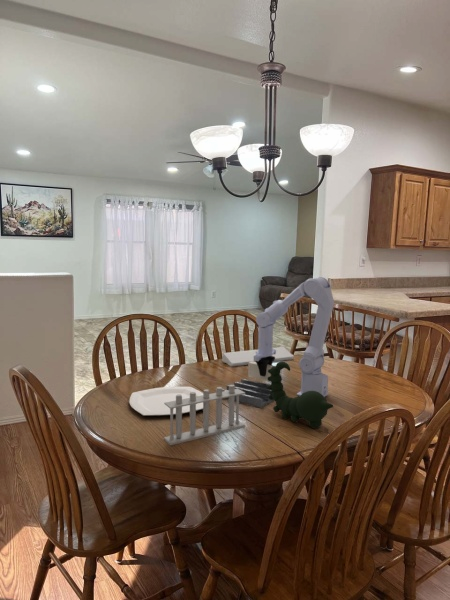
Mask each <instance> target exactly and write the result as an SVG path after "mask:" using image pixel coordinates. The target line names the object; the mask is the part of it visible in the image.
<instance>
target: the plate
mask: <svg viewBox="0 0 450 600" xmlns="http://www.w3.org/2000/svg"><path fill="white" fill-rule="evenodd" d="M190 392H196V397H197V396H202V395H203V391H200V390H198V389H196V388H194V387H192V386H164V387H163V386H161V387H155V388H149V389H142V390H139V391H134V392H132V393H131V395H130V397H129V400H128V401H129V405H130V407H131V409H133V410H134V411H136V412H137V413H139V414H140V415H141V416H144V417H146V416H147V417H154V416H155V417H156V416H170V408H169V407H167V406H166V405H165V404H164V403H165V402H171V401H176V395H178V394H180V395H182V399H186V398H190ZM200 410H203V402H202V403H197V404H196V412H197V411H200ZM183 414H190V405H188V406H183V407H182V415H183ZM173 416H176V408H174V409H173Z"/></svg>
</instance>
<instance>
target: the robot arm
mask: <svg viewBox="0 0 450 600" xmlns="http://www.w3.org/2000/svg"><path fill="white" fill-rule="evenodd" d="M304 296H308V297H310V298H311V299H312V300H313V301H314V302H315V303H316V305H317V310H316V314H315V318H314V321H313V322H314V323H313V325H312V329H311V333H310V338H309V342H308V346H307V348H306V349H305V350H304V352H303V356H302V357H301V358H300V359H299V361H298V366H299V369H300V370H301V374H300V375H301V377H300V378H301V379H300V391H299V392H297V393H296V396H298V397H300V395H301V394H303V393H304V392H307V391H317V392H319V393H321V394H322V395H323V396H324V397H325V398H326V397H327V396H329V393H328V390H329V388H328V387H329V377H328V374H326V373H323V372H322V367H323V366H324V364H325V358H324V355H325V351H324V344H325V342H326V341H325V340H326V336H327V332H328V328H329V325H330V321H331V318H332V313H333V310H334V306H335V301H334V296H333V293H332V284H331V283H330V282H329V281H328V279H327V278H326V277H322V276H321V277H320V276H319V277H314V278H312V277H311V278H308V279H306V280H305V281H304V282H302V283H300V284H299V285H298V286H297V287H296V288H295V289H293V291H291V292H290V293H289V294H288V295H287V296H286V297H284V299H283V300H282V299H278V300H274V301H272V304H271V305H270V306H269V307H267V308H265V309H264V312H258V314H257V315H256V317H255V322H256V324H257V326H258V333H257V334H258V336H257V339H258V340H257V345H258V346H257V350H258V351H256V353H257V354H256V355H254V361H256V363H257V365H258V368H259V373H260V376H265V375H266V369H267V365H273V363H274V362H273V361H274V360H275V357H274V356H272V355H273V354H276V350H275V349H272V348H274V347H273V340H274V339H273V338H274V337H273V336H274V325H275V324H276V322H277V321H278V320H279V319H280V318H281V317H283V316H284V315H285V314H287V313H288V311H289V307H290V306H291V305H293V304H295V303H296V302H297V301H298V300H300V299H302V298H303V297H304Z"/></svg>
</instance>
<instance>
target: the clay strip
mask: <svg viewBox="0 0 450 600" xmlns="http://www.w3.org/2000/svg"><path fill="white" fill-rule="evenodd" d="M274 366H275V365H274V364H272V365H267V369H266V375H265V376H260V373H259V368H258V365H257V363H256V362H252V361H251V362H249V363H248V367H247V368H248V370H247V372H248V373H247V377H248V378H251V379H256V380H261V381H266V382H270V383H271V381H268V377H270V376H271V374H270V373H269V372H268V370H269V369H271V368H272V367H274ZM280 375H281V377H282V378H283V376H282V375H283V369H282V370H280ZM282 380H283V379H282ZM282 380H281V382H282ZM282 383H283V382H282Z"/></svg>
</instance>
